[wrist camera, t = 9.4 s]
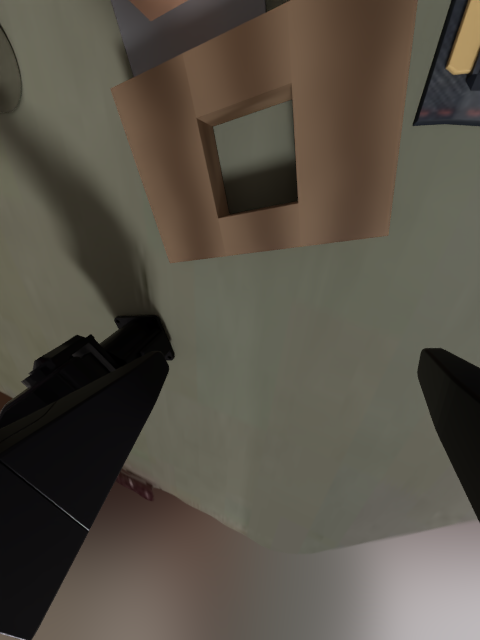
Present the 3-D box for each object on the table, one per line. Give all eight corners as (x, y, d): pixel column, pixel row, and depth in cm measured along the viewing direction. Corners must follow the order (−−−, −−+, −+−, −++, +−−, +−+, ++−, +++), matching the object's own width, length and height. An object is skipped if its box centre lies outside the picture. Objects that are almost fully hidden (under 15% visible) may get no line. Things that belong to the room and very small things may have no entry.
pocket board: (184, 254, 21) (169, 263, 19) (137, 101, 16) (110, 88, 14) (378, 228, 16) (388, 235, 14) (403, -17, 11) (425, -66, 8)
